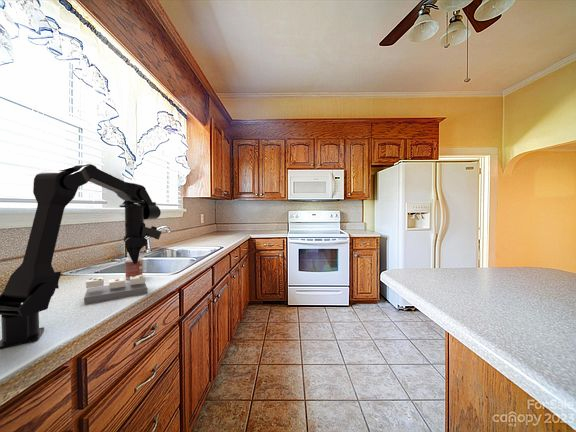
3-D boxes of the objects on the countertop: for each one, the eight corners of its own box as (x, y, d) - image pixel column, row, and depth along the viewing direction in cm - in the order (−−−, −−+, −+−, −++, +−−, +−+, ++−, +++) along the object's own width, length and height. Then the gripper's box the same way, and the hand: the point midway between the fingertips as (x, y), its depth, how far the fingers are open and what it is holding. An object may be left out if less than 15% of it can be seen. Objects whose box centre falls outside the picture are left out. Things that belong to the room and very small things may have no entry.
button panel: (147, 293, 86) (147, 287, 86) (84, 304, 76) (84, 297, 76) (144, 285, 95) (144, 280, 95) (87, 294, 85) (87, 288, 85)
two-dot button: (145, 282, 88) (145, 276, 88) (130, 285, 86) (130, 278, 86) (144, 280, 92) (143, 274, 92) (130, 282, 89) (129, 276, 89)
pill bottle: (142, 278, 104) (142, 252, 104) (125, 280, 101) (125, 254, 101) (142, 275, 109) (141, 250, 109) (125, 277, 106) (125, 251, 106)
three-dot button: (103, 285, 81) (103, 279, 81) (86, 288, 79) (86, 281, 79) (103, 282, 85) (103, 276, 85) (87, 284, 82) (87, 278, 82)
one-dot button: (125, 286, 85) (125, 280, 85) (109, 288, 82) (109, 282, 82) (124, 283, 88) (124, 277, 88) (109, 285, 86) (109, 279, 86)
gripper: (163, 220, 85) (164, 265, 85) (156, 219, 100) (156, 257, 100) (125, 221, 78) (125, 270, 79) (123, 219, 94) (124, 260, 94)
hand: (135, 263), depth 88 cm, fingers closed
